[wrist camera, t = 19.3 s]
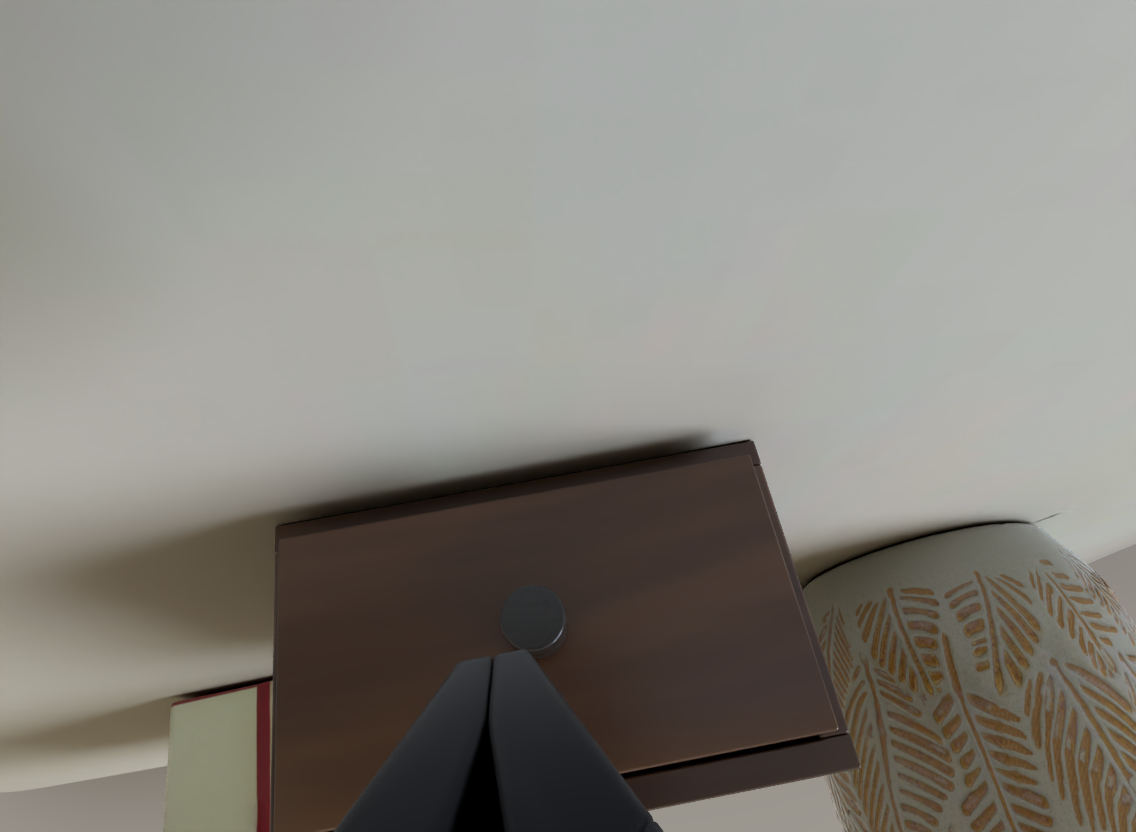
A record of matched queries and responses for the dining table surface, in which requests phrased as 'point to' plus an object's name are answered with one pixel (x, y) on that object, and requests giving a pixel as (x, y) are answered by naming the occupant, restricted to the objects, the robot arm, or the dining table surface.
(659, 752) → the drawer
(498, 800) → the robot arm
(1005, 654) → the vase
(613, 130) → the dining table surface
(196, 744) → the gift box
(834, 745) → the cabinet
